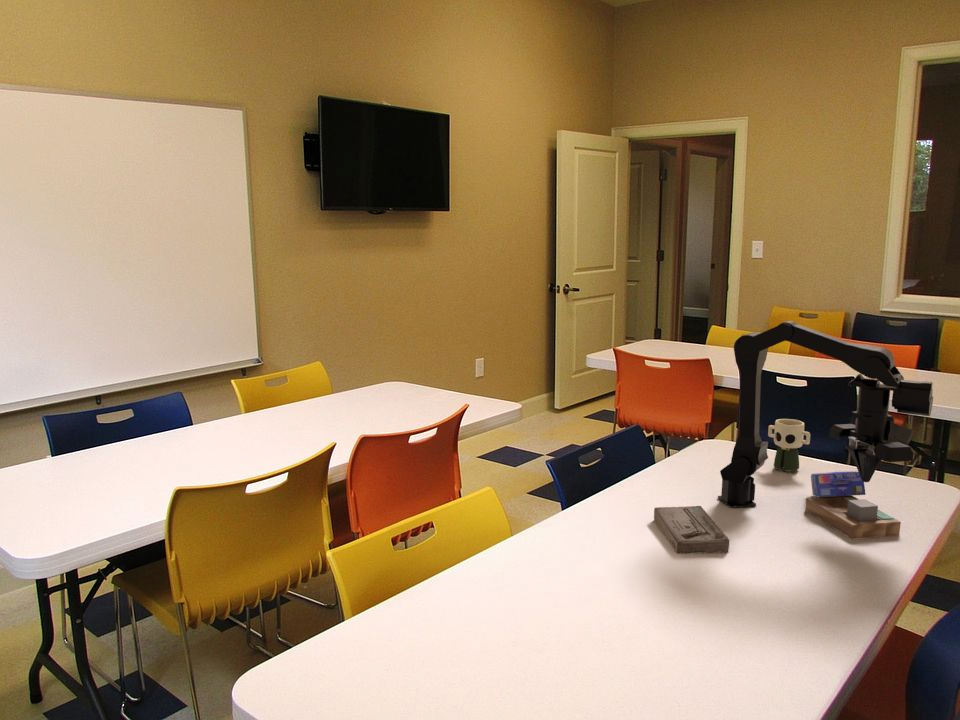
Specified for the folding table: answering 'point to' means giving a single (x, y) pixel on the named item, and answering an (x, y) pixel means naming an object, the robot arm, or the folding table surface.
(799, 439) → the character mug
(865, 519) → the plug
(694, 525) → the box
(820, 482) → the ink cartridge box
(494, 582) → the folding table surface
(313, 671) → the folding table surface
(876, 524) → the socket block
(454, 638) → the folding table surface
